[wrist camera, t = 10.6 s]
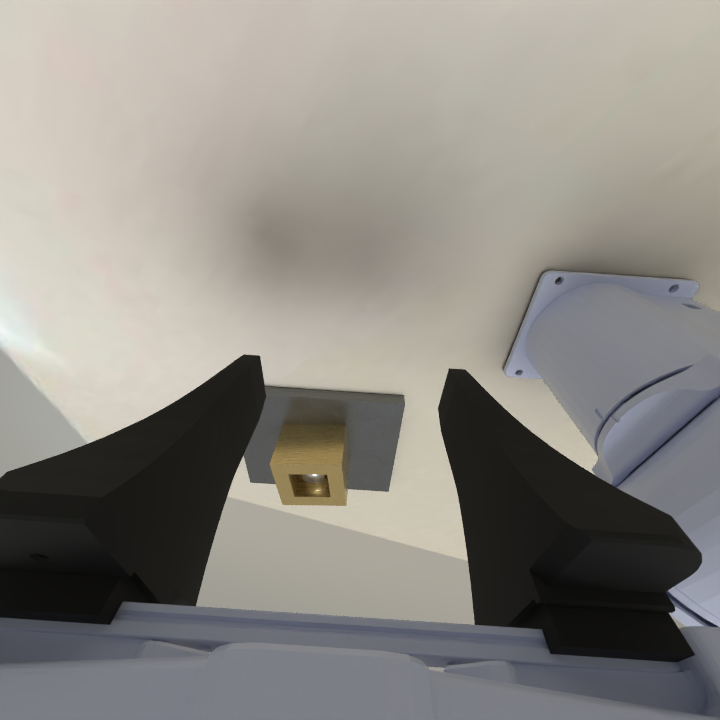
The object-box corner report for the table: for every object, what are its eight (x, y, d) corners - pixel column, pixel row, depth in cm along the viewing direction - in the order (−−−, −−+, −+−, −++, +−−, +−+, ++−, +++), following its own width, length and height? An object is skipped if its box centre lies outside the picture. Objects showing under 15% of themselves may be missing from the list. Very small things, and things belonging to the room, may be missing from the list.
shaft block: (403, 395, 25) (408, 432, 22) (388, 482, 32) (389, 521, 29) (233, 384, 25) (212, 419, 22) (253, 473, 32) (239, 511, 29)
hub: (345, 424, 26) (341, 464, 23) (349, 465, 29) (346, 505, 26) (282, 424, 26) (269, 464, 23) (292, 464, 29) (282, 504, 26)
